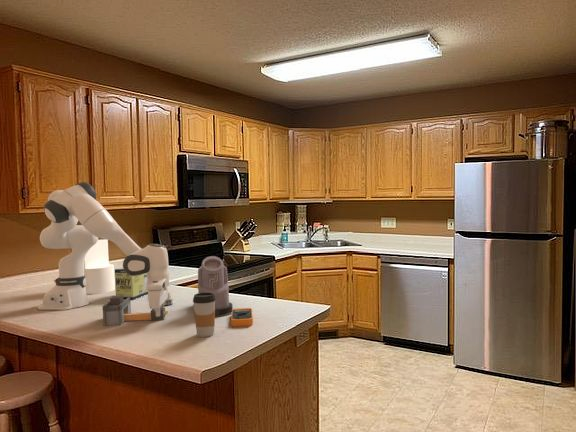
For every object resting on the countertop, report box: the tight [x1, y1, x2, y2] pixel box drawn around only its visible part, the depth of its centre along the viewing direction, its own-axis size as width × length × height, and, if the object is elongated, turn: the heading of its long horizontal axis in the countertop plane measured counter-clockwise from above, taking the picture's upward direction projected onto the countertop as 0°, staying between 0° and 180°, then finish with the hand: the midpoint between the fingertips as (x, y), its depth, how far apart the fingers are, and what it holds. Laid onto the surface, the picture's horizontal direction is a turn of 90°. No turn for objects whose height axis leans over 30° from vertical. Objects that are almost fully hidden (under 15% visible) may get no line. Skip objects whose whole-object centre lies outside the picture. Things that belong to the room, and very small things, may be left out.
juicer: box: [197, 255, 234, 319], centre depth 204 cm, size 30×16×24 cm, turn 13°
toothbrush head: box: [164, 291, 174, 306], centre depth 224 cm, size 5×7×25 cm
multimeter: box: [230, 307, 254, 328], centre depth 185 cm, size 9×18×3 cm, turn 6°
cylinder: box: [84, 239, 116, 295], centre depth 252 cm, size 17×17×28 cm
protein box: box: [114, 266, 148, 301], centre depth 235 cm, size 10×16×16 cm
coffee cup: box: [192, 292, 216, 338], centre depth 167 cm, size 8×8×15 cm
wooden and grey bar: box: [124, 307, 169, 322], centre depth 190 cm, size 24×4×4 cm, turn 94°
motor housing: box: [102, 295, 132, 327], centre depth 190 cm, size 7×15×10 cm, turn 4°
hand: (159, 314), depth 191 cm, fingers closed on wooden and grey bar, 4 cm apart
